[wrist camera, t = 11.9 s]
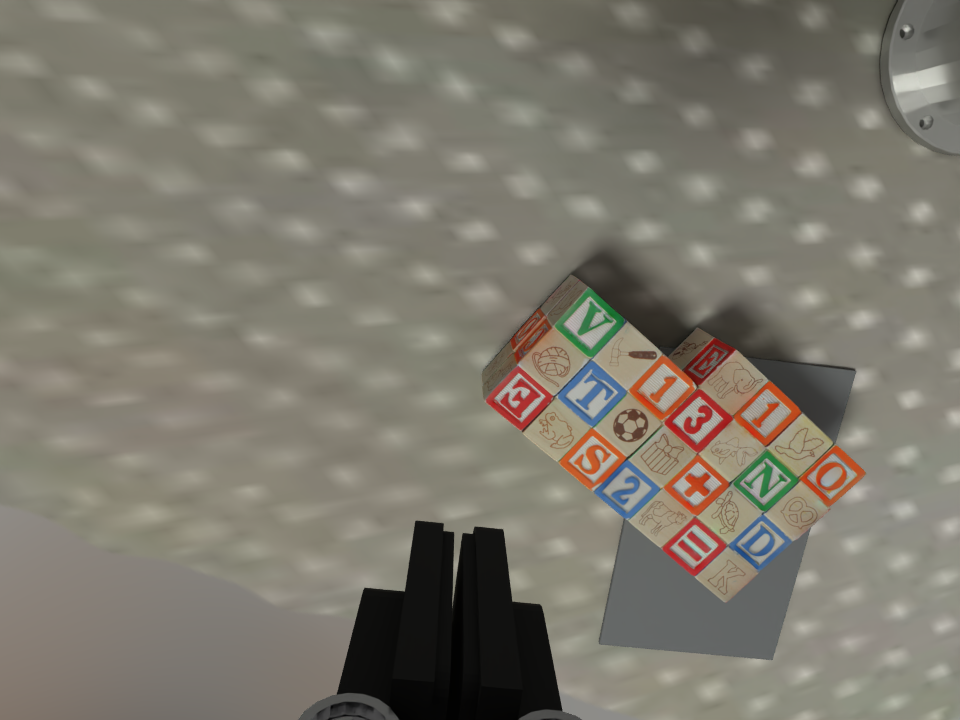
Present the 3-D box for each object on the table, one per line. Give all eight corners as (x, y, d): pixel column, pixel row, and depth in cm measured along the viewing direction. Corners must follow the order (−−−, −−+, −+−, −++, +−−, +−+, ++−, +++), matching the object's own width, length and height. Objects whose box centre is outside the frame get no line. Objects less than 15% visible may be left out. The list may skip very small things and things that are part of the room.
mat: (853, 369, 44) (856, 371, 43) (770, 657, 49) (772, 660, 49) (659, 346, 43) (660, 347, 42) (598, 641, 49) (599, 644, 48)
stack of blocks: (479, 403, 37) (624, 243, 34) (478, 374, 43) (600, 236, 41) (727, 605, 40) (872, 472, 38) (693, 552, 46) (816, 435, 44)
